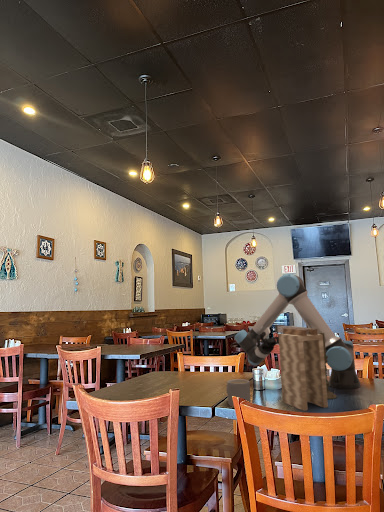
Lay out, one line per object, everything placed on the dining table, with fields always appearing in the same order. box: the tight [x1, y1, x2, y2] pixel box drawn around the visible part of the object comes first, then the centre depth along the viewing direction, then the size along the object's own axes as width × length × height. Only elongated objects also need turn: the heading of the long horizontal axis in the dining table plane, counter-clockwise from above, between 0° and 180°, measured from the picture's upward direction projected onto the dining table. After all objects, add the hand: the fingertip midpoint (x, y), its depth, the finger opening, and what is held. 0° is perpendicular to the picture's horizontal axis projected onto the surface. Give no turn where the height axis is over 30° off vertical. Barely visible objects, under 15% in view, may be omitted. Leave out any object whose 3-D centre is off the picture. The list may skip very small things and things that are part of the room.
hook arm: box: [274, 324, 309, 335], centre depth 179 cm, size 23×4×4 cm, turn 18°
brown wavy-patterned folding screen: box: [278, 328, 329, 412], centre depth 171 cm, size 16×12×32 cm
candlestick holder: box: [320, 332, 338, 400], centre depth 182 cm, size 9×9×30 cm
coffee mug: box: [226, 378, 252, 407], centre depth 175 cm, size 13×10×10 cm
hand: (281, 328), depth 186 cm, fingers open, 13 cm apart
